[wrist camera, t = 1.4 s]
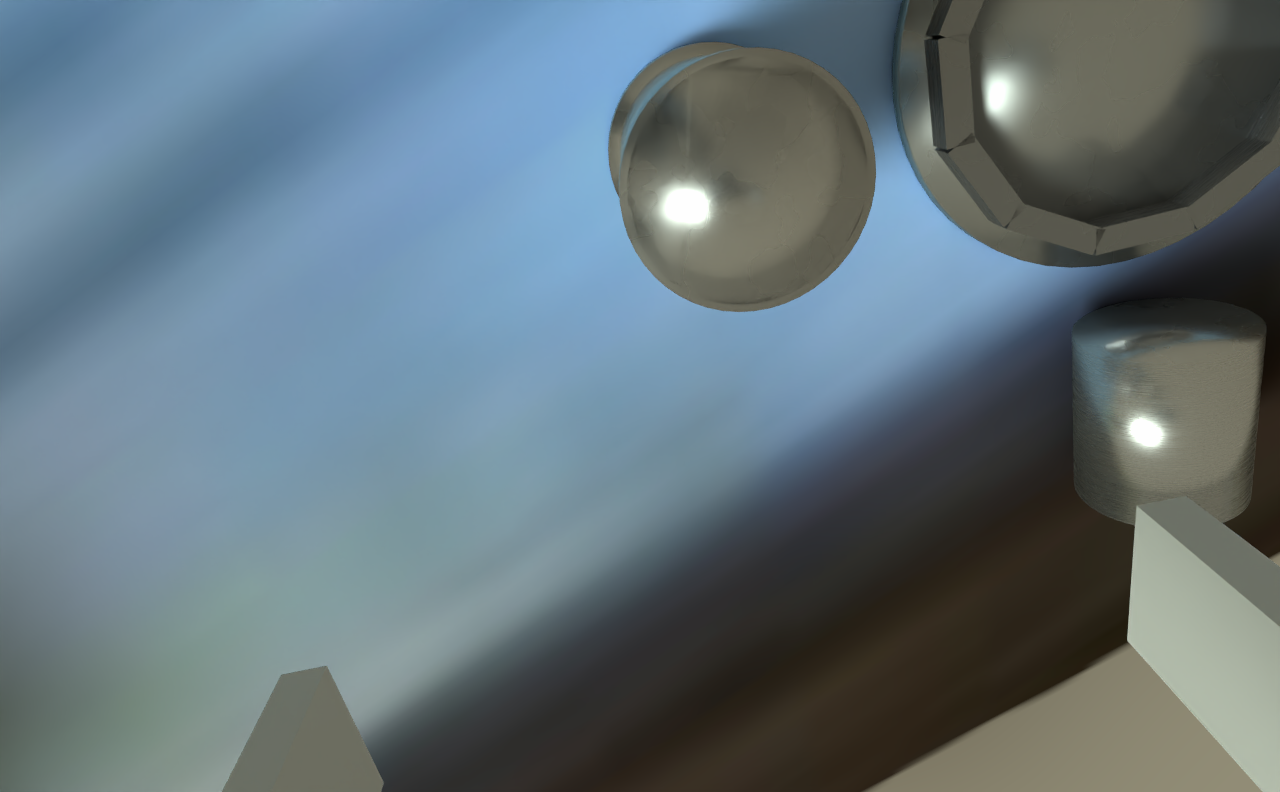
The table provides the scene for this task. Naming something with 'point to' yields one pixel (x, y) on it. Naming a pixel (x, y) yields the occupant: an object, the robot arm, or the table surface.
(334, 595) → the table surface
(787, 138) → the knob
